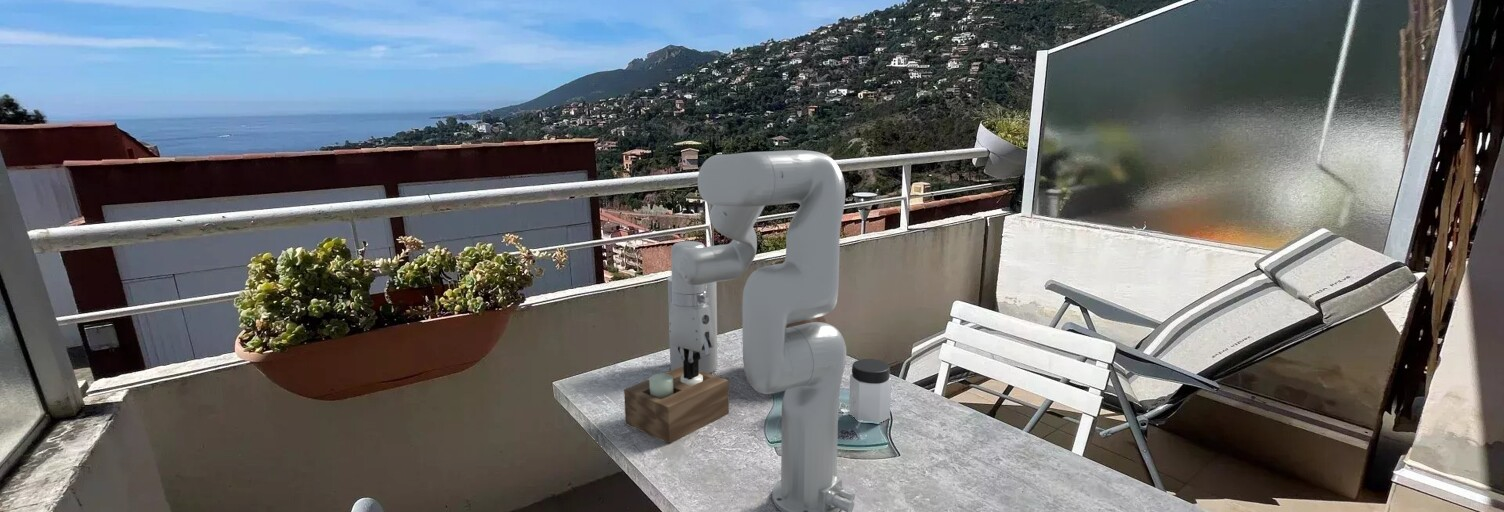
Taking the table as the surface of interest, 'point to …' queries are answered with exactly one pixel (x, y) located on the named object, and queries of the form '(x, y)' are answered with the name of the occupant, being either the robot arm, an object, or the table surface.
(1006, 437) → the table surface
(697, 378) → the ivory button
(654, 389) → the sage button
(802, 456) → the robot arm
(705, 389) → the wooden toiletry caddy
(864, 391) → the jar
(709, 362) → the cylinder vase
